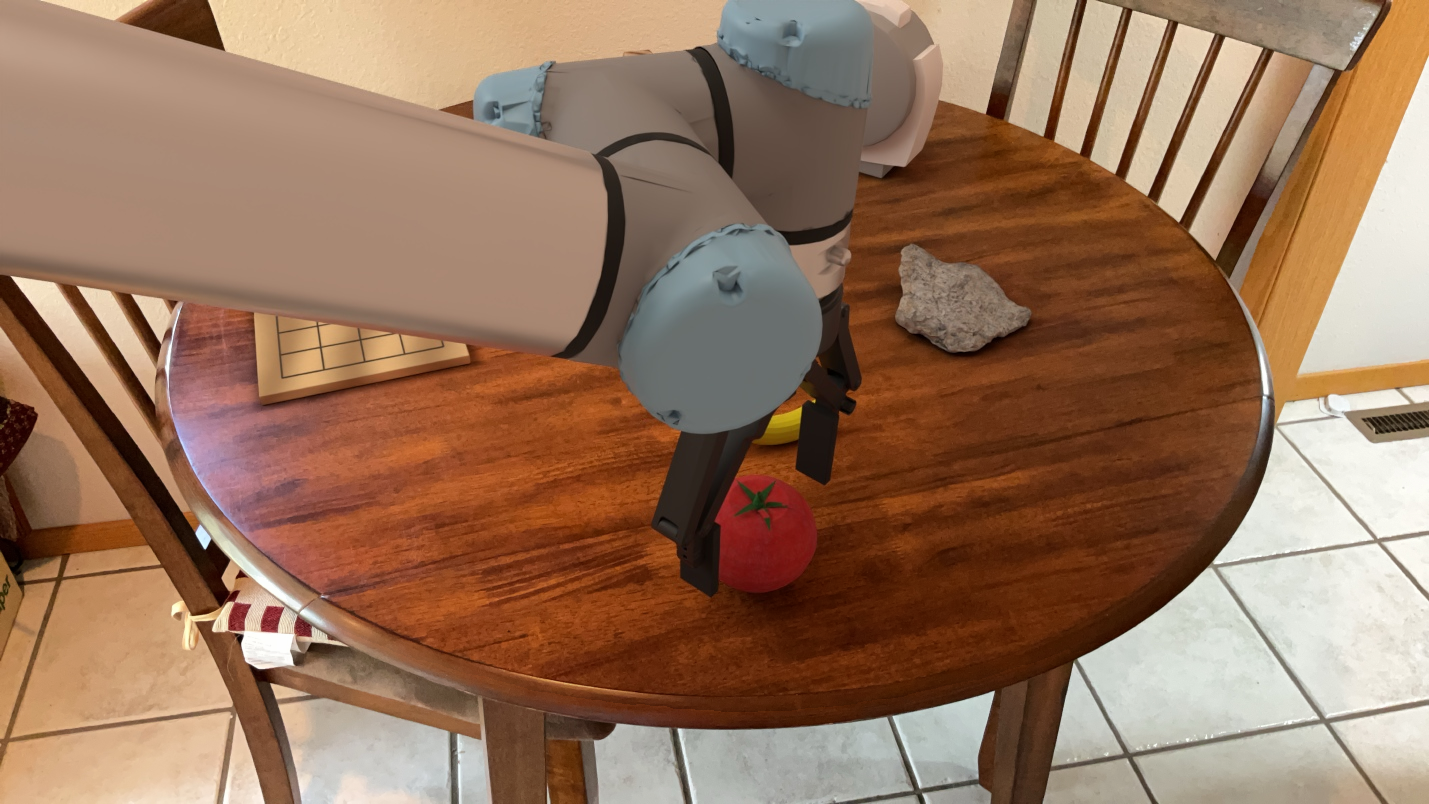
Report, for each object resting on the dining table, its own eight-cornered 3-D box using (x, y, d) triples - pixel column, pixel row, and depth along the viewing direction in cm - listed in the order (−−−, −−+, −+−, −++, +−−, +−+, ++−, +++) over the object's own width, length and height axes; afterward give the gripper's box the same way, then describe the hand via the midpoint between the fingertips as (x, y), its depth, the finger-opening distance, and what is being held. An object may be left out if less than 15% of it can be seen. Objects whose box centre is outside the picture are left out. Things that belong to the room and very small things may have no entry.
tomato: (801, 626, 68) (812, 550, 63) (680, 600, 70) (681, 524, 65) (820, 534, 75) (832, 459, 70) (709, 512, 76) (712, 437, 71)
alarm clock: (929, 165, 123) (961, 0, 110) (904, 192, 118) (934, 22, 104) (802, 129, 130) (818, -30, 117) (773, 153, 124) (785, -11, 111)
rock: (941, 332, 89) (866, 240, 99) (926, 367, 92) (854, 274, 101) (1056, 323, 94) (974, 236, 104) (1038, 356, 97) (960, 268, 107)
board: (261, 405, 84) (258, 396, 84) (254, 294, 97) (251, 285, 96) (470, 363, 90) (469, 354, 89) (438, 263, 102) (436, 254, 102)
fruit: (832, 418, 85) (838, 374, 82) (842, 434, 84) (850, 389, 81) (723, 443, 83) (726, 398, 79) (732, 460, 81) (735, 414, 78)
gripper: (690, 413, 47) (688, 670, 60) (942, 214, 62) (893, 457, 75) (578, 351, 50) (599, 608, 64) (842, 177, 65) (813, 415, 79)
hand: (759, 526), depth 70 cm, fingers open, 13 cm apart
